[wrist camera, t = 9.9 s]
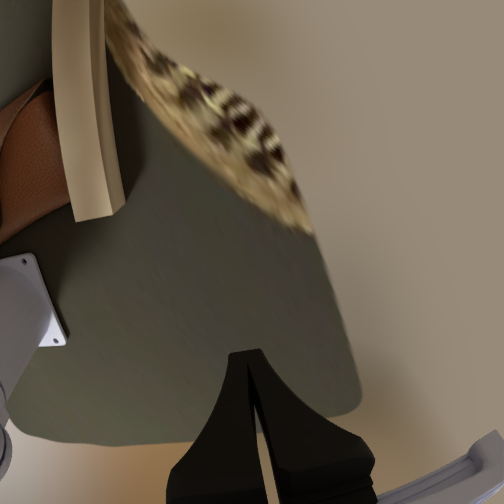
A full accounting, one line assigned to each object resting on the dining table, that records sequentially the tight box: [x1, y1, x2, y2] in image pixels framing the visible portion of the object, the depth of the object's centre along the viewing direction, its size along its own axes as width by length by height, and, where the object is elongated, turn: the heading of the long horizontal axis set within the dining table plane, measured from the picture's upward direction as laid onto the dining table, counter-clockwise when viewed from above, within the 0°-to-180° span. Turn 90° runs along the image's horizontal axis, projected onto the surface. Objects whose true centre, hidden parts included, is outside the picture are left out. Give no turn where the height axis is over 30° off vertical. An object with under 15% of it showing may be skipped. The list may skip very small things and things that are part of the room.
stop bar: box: [52, 0, 126, 222], centre depth 14 cm, size 2×18×3 cm, turn 6°
